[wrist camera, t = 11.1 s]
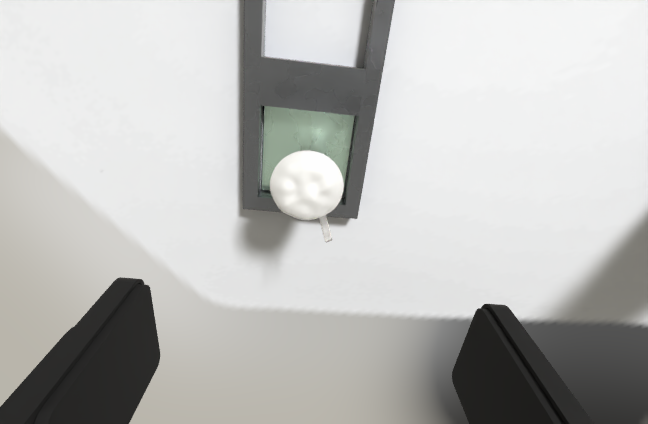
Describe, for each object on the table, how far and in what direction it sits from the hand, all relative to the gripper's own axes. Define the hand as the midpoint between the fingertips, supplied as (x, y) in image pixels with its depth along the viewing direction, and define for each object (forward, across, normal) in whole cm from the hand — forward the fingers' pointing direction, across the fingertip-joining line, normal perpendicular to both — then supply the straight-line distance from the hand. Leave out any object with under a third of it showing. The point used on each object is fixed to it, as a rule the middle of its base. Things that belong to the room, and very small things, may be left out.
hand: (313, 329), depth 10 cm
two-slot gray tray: (+20, +1, -5) cm, 21 cm away
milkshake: (+20, 0, +1) cm, 20 cm away
